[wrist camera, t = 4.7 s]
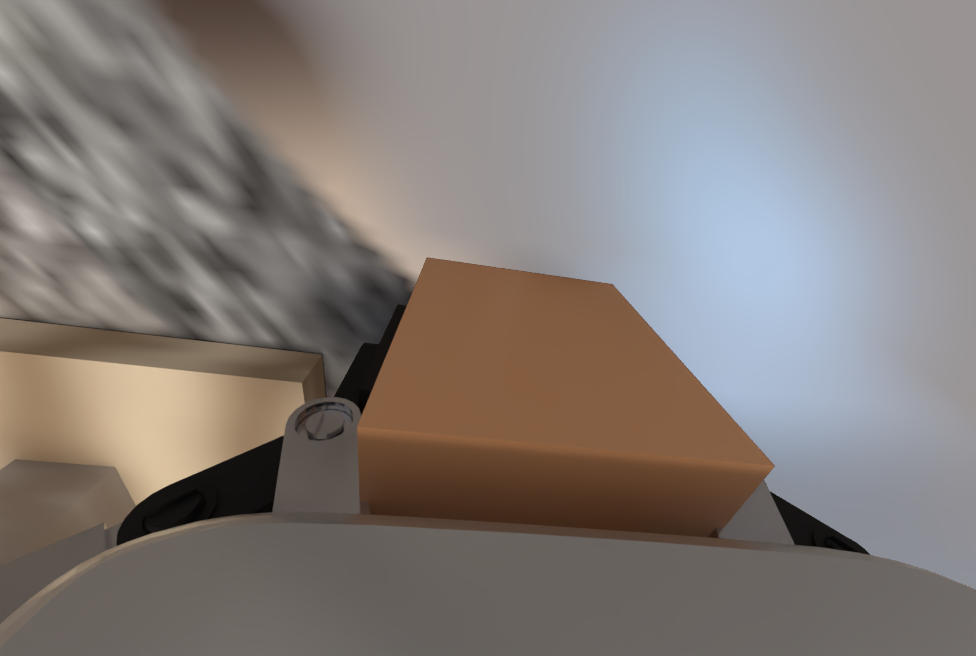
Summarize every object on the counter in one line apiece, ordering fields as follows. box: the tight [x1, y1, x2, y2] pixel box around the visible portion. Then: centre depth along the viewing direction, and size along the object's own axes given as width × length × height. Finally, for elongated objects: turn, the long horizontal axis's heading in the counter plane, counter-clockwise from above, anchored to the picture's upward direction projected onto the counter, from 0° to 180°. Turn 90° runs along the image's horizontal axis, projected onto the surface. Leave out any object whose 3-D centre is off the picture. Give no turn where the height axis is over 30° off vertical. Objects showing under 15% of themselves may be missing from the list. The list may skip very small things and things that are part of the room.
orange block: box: [357, 258, 774, 537], centre depth 9 cm, size 6×6×7 cm
